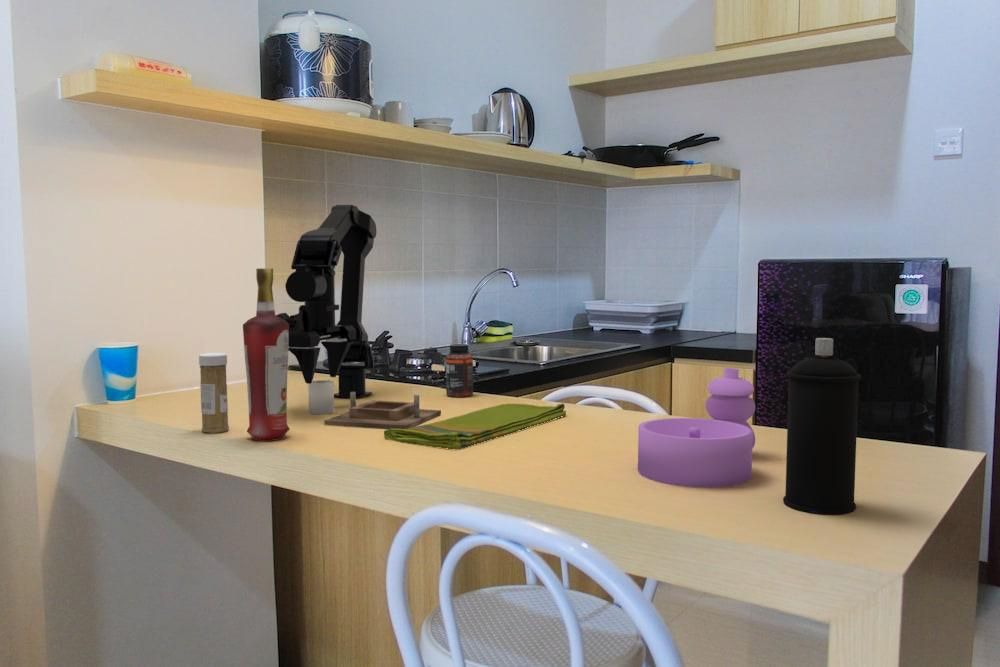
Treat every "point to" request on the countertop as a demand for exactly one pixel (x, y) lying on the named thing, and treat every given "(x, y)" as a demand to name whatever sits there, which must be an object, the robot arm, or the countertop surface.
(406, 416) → the holder
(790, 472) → the aerosol can
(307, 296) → the robot arm
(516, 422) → the dish towel
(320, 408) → the roll
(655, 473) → the container set
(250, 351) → the liquor
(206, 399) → the spice jar
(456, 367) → the supplement bottle
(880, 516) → the countertop surface
